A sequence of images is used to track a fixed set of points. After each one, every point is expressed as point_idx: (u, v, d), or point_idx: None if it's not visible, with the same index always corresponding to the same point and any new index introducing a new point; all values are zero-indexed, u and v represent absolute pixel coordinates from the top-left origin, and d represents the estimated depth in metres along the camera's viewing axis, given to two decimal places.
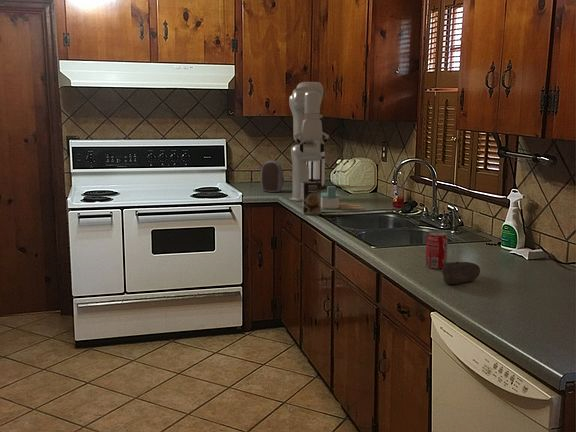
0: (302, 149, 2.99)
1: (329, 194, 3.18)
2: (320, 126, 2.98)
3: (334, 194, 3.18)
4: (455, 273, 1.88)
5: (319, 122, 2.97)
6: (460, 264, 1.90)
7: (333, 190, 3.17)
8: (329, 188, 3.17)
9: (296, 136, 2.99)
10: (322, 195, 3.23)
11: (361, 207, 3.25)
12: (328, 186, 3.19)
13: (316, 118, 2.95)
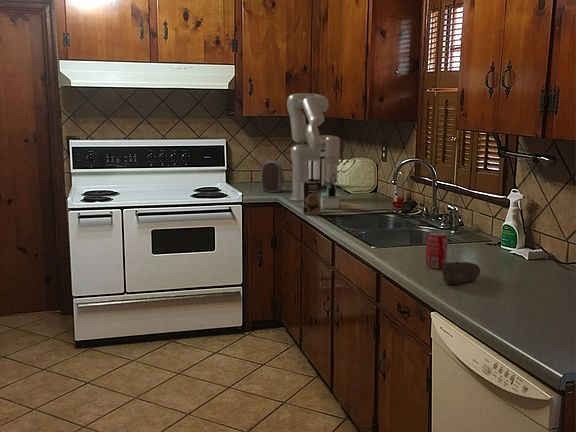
0: None
1: None
2: None
3: None
4: (455, 273, 1.88)
5: None
6: (460, 264, 1.90)
7: None
8: None
9: None
10: (322, 195, 3.23)
11: (361, 207, 3.25)
12: (328, 186, 3.19)
13: None
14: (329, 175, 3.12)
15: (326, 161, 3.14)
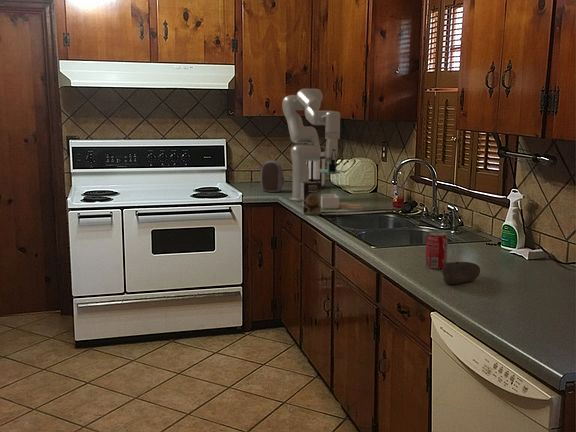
0: None
1: None
2: None
3: None
4: (455, 273, 1.88)
5: None
6: (460, 264, 1.90)
7: None
8: (329, 163, 3.15)
9: None
10: (322, 171, 3.21)
11: (361, 207, 3.25)
12: (328, 162, 3.17)
13: None
14: (329, 150, 3.10)
15: (326, 136, 3.12)
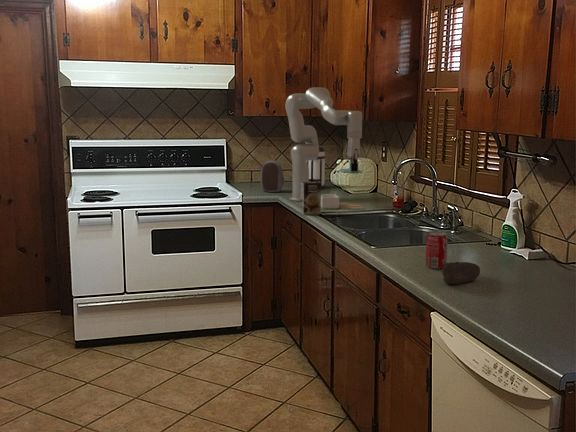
0: None
1: None
2: None
3: None
4: (455, 273, 1.88)
5: None
6: (460, 264, 1.90)
7: None
8: None
9: None
10: (344, 170, 3.21)
11: (361, 207, 3.25)
12: (350, 161, 3.18)
13: None
14: (352, 149, 3.11)
15: (349, 136, 3.13)
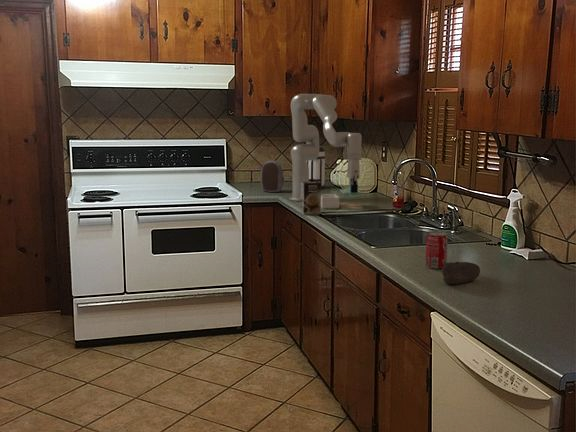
0: None
1: None
2: None
3: None
4: (455, 273, 1.88)
5: None
6: (460, 264, 1.90)
7: None
8: (351, 184, 3.18)
9: None
10: (344, 192, 3.23)
11: (361, 207, 3.25)
12: None
13: None
14: (351, 171, 3.13)
15: (348, 157, 3.15)
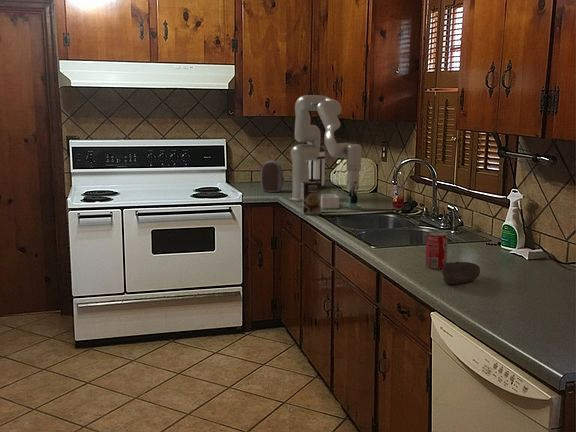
0: None
1: (350, 205, 3.19)
2: None
3: (355, 205, 3.20)
4: (455, 273, 1.88)
5: None
6: (460, 264, 1.90)
7: None
8: None
9: None
10: (343, 205, 3.25)
11: (361, 207, 3.25)
12: (349, 197, 3.21)
13: None
14: (351, 183, 3.14)
15: (348, 169, 3.16)
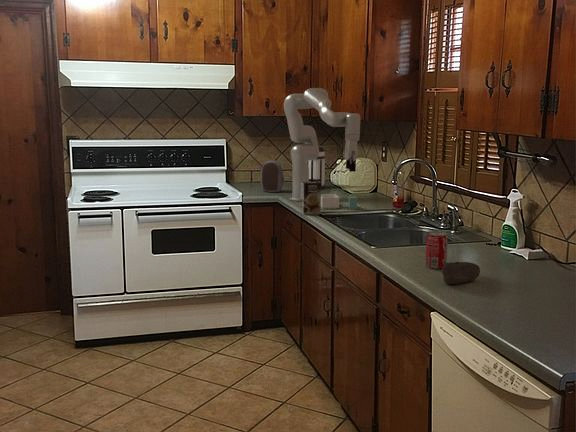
0: None
1: (350, 205, 3.19)
2: None
3: (355, 205, 3.20)
4: (455, 273, 1.88)
5: None
6: (460, 264, 1.90)
7: (354, 201, 3.19)
8: (351, 199, 3.19)
9: None
10: (343, 205, 3.25)
11: (361, 207, 3.25)
12: (349, 197, 3.21)
13: None
14: (349, 152, 3.13)
15: (346, 138, 3.15)
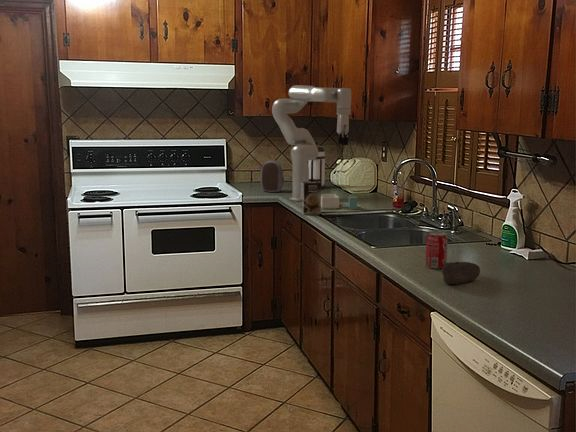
0: (347, 142, 3.21)
1: (350, 205, 3.19)
2: None
3: (355, 205, 3.20)
4: (455, 273, 1.88)
5: None
6: (460, 264, 1.90)
7: (354, 201, 3.19)
8: (351, 199, 3.19)
9: None
10: (343, 205, 3.25)
11: (361, 207, 3.25)
12: (349, 197, 3.21)
13: None
14: (341, 126, 3.19)
15: (338, 112, 3.20)
